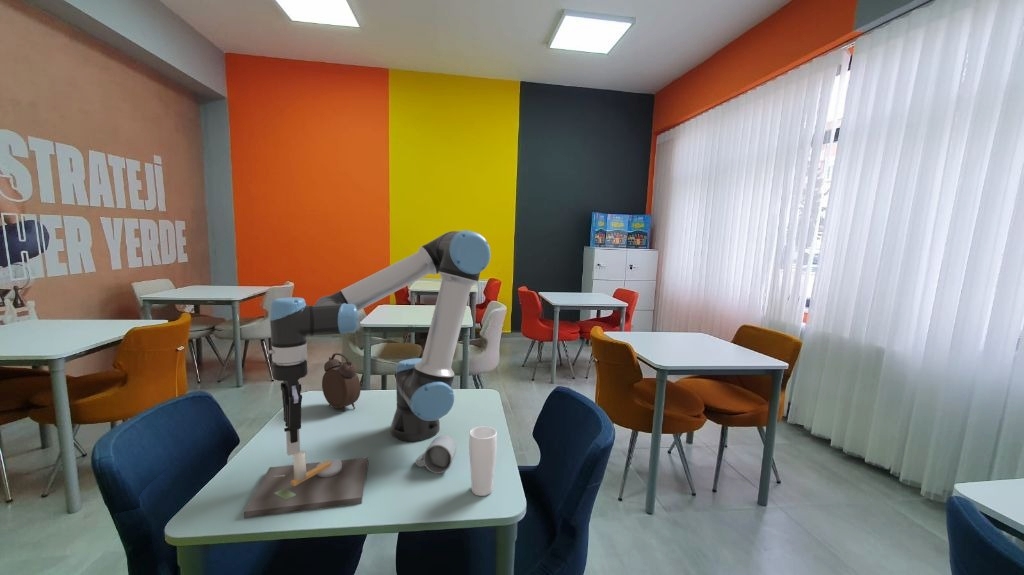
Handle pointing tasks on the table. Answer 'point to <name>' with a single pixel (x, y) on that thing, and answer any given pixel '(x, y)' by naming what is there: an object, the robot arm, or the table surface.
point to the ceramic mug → (438, 454)
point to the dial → (322, 469)
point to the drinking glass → (482, 459)
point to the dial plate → (308, 489)
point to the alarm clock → (340, 382)
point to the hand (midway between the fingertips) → (293, 452)
